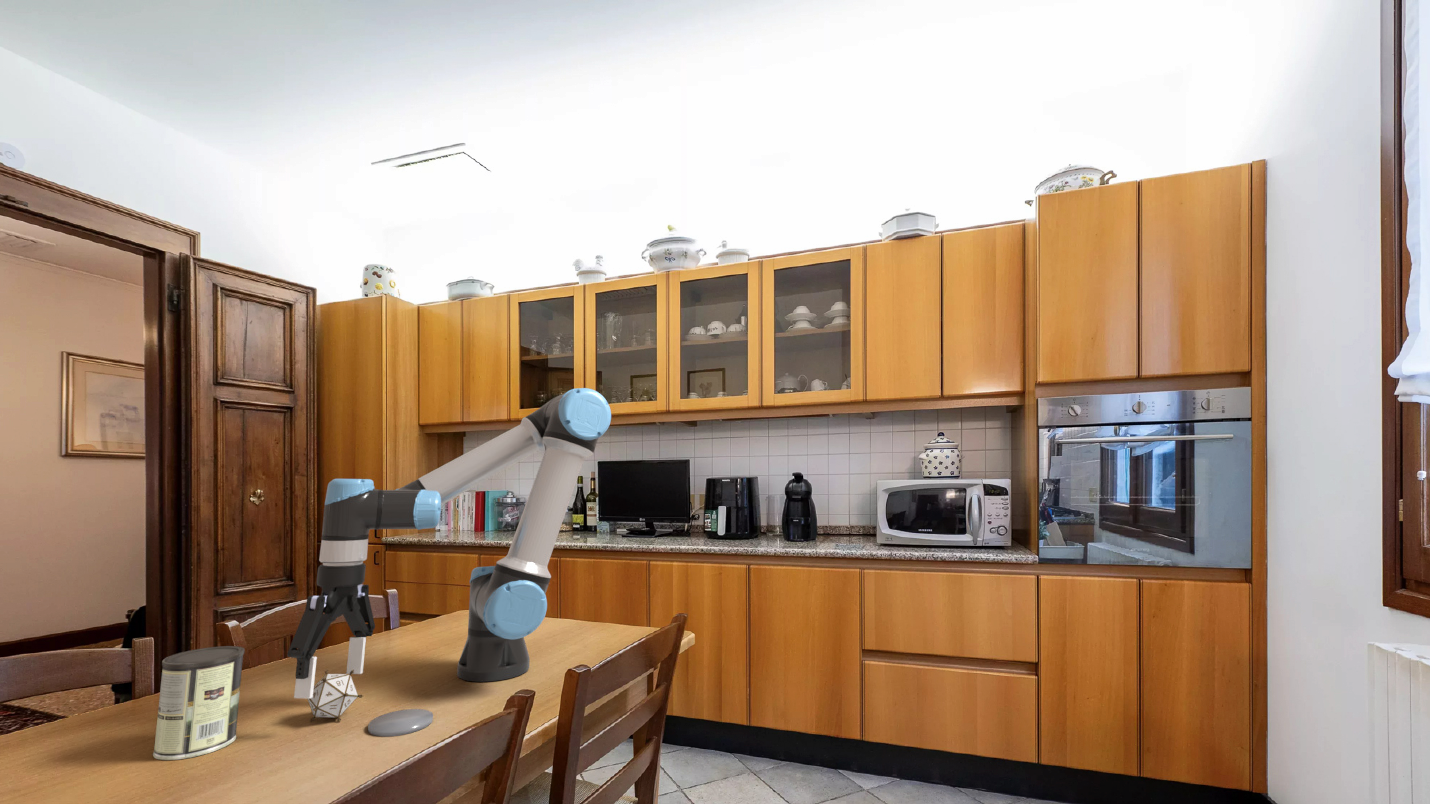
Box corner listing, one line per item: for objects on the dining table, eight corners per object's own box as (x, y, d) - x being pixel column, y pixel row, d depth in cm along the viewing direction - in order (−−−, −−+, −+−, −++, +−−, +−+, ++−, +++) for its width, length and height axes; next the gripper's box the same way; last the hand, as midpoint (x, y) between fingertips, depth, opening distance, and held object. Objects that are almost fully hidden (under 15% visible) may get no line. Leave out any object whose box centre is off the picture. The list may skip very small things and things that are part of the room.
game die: (326, 745, 106) (306, 710, 101) (305, 717, 110) (285, 682, 105) (377, 707, 112) (360, 672, 107) (355, 682, 117) (338, 647, 112)
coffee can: (196, 731, 103) (205, 644, 104) (252, 734, 102) (260, 646, 103) (132, 759, 92) (143, 662, 94) (194, 762, 91) (204, 664, 93)
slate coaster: (443, 714, 110) (443, 709, 110) (413, 737, 100) (414, 731, 101) (389, 713, 111) (390, 708, 111) (355, 735, 101) (355, 730, 101)
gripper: (364, 555, 124) (354, 664, 121) (271, 571, 100) (255, 708, 97) (400, 555, 124) (390, 665, 121) (315, 572, 99) (300, 710, 96)
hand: (330, 684), depth 109 cm, fingers open, 13 cm apart
